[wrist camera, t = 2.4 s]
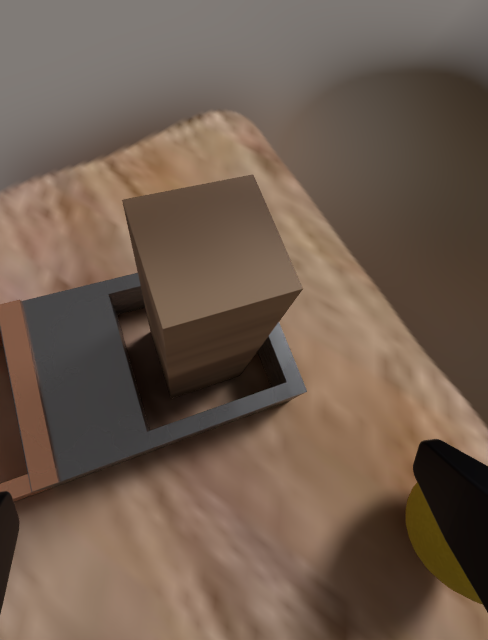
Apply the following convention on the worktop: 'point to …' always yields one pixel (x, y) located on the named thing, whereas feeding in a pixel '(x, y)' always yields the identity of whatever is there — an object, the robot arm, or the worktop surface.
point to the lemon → (434, 546)
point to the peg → (209, 278)
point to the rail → (100, 385)
